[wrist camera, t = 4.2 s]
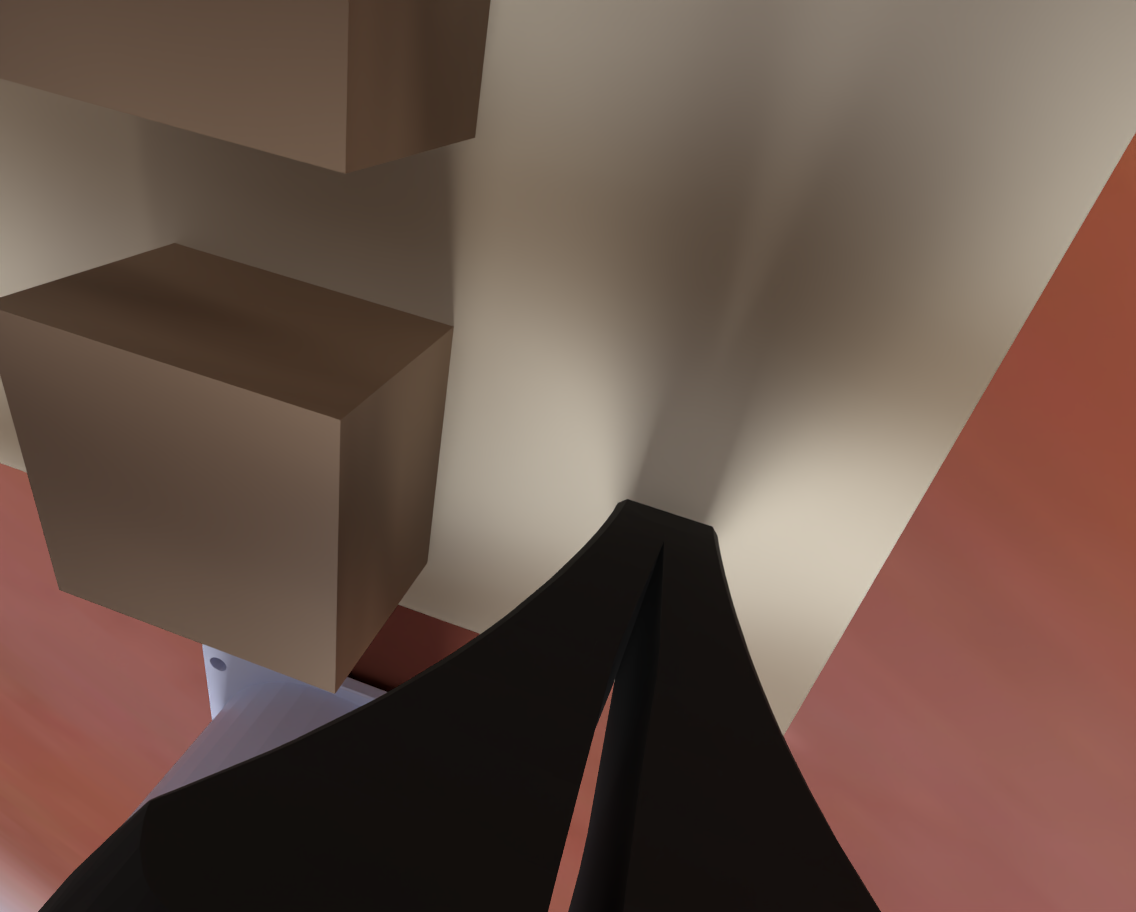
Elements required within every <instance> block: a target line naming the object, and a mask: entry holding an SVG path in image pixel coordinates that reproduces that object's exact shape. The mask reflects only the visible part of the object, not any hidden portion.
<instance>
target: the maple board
mask: <svg viewBox="0 0 1136 912" xmlns="http://www.w3.org/2000/svg"><path fill="white" fill-rule="evenodd" d="M1135 132H1136V0H491V1H490V10H489V19H488V28H487V37H486V46H485V54H484V63H483V72H482V81H481V90H480V99H479V108H478V117H477V126H476V135H475V138H472V139H469V140H465V141H461V142H458V143H454V144H451V145H447V146H443V147H440V148H436V149H433V150H429V151H425V152H422V153H418V154H415V155H411V156H407V157H404V158H400V159H397V160H393V161H389V162H386V163H382V164H379V165H375V166H371V167H368V168H364V169H361V170H357V171H353V172H350V173H346V174H345V173H341V172H337V171H334V170H330V169H326V168H323V167H319V166H316V165H312V164H308V163H305V162H301V161H297V160H294V159H290V158H287V157H283V156H279V155H276V154H272V153H268V152H265V151H261V150H258V149H254V148H250V147H247V146H243V145H239V144H236V143H232V142H229V141H225V140H221V139H218V138H214V137H210V136H207V135H203V134H200V133H196V132H192V131H189V130H185V129H181V128H178V127H174V126H171V125H167V124H163V123H160V122H156V121H152V120H149V119H145V118H142V117H138V116H134V115H131V114H127V113H123V112H120V111H116V110H113V109H109V108H105V107H102V106H98V105H94V104H91V103H87V102H83V101H80V100H76V99H73V98H69V97H65V96H62V95H58V94H54V93H51V92H47V91H44V90H40V89H36V88H33V87H29V86H25V85H22V84H18V83H15V82H11V81H7V80H4V79H0V297H3V296H6V295H10V294H13V293H16V292H19V291H22V290H26V289H29V288H32V287H35V286H38V285H42V284H45V283H48V282H51V281H54V280H58V279H61V278H64V277H67V276H70V275H74V274H77V273H80V272H83V271H86V270H90V269H93V268H96V267H99V266H102V265H105V264H109V263H112V262H115V261H118V260H121V259H125V258H128V257H131V256H134V255H137V254H141V253H144V252H147V251H150V250H153V249H157V248H160V247H163V246H166V245H169V244H173V243H176V244H180V245H183V246H186V247H190V248H193V249H196V250H200V251H203V252H206V253H210V254H213V255H216V256H220V257H223V258H226V259H230V260H233V261H236V262H240V263H243V264H246V265H250V266H253V267H256V268H260V269H263V270H266V271H270V272H273V273H276V274H280V275H283V276H287V277H290V278H293V279H297V280H300V281H303V282H307V283H310V284H313V285H317V286H320V287H323V288H327V289H330V290H333V291H337V292H340V293H343V294H347V295H350V296H353V297H357V298H360V299H363V300H367V301H370V302H373V303H377V304H380V305H383V306H387V307H390V308H393V309H397V310H400V311H403V312H407V313H410V314H414V315H417V316H420V317H424V318H427V319H430V320H434V321H437V322H440V323H444V324H447V325H450V326H454V330H453V339H452V348H451V357H450V366H449V375H448V384H447V393H446V401H445V410H444V419H443V428H442V437H441V446H440V455H439V464H438V473H437V482H436V490H435V499H434V508H433V517H432V526H431V535H430V544H429V553H428V562H427V564H426V566H425V567H424V568H423V570H422V571H421V573H420V574H419V575H418V577H417V578H416V580H415V581H414V583H413V584H412V585H411V587H410V588H409V590H408V591H407V593H406V594H405V595H404V597H403V598H402V600H401V601H400V602H399V604H398V605H401V606H404V607H406V608H409V609H412V610H415V611H418V612H420V613H423V614H426V615H429V616H432V617H434V618H437V619H440V620H443V621H446V622H448V623H451V624H454V625H457V626H460V627H463V628H465V629H468V630H471V631H474V632H477V633H479V634H481V633H483V632H484V631H486V630H487V629H488V628H490V627H491V626H492V625H494V624H495V623H496V622H498V621H499V620H500V619H502V618H503V617H504V616H506V615H507V614H508V613H510V612H511V611H512V610H513V609H514V608H516V607H517V606H518V605H519V604H520V603H522V602H523V601H524V600H525V599H526V598H528V597H529V596H530V595H531V594H533V593H534V592H535V591H536V590H537V589H539V588H540V587H541V586H542V585H543V584H545V583H546V582H547V581H548V580H549V579H550V578H551V577H552V576H554V575H555V574H556V573H557V572H558V571H559V570H560V569H561V568H562V567H563V566H564V565H565V564H566V563H567V562H568V561H569V560H570V559H571V558H572V557H573V556H574V555H575V554H576V553H577V552H578V551H579V550H580V549H581V548H582V547H583V546H584V545H585V544H586V543H587V542H588V541H589V540H590V539H591V538H592V537H593V535H594V534H595V533H596V532H597V531H598V530H599V529H600V527H601V526H602V525H603V524H604V523H605V521H606V520H607V519H608V517H609V516H610V515H611V513H612V512H613V510H614V508H615V507H616V505H617V503H619V502H621V501H624V500H626V499H629V500H632V501H635V502H638V503H642V504H645V505H648V506H651V507H654V508H657V509H660V510H663V511H666V512H669V513H672V514H675V515H678V516H682V517H685V518H688V519H691V520H694V521H697V522H700V523H703V524H706V525H709V526H712V527H713V528H714V530H715V532H716V534H717V536H718V542H719V547H720V553H721V557H722V562H723V566H724V571H725V575H726V579H727V582H728V586H729V590H730V594H731V597H732V601H733V604H734V608H735V611H736V614H737V617H738V620H739V623H740V626H741V629H742V632H743V635H744V638H745V641H746V644H747V647H748V650H749V653H750V656H751V659H752V661H753V664H754V667H755V669H756V672H757V675H758V677H759V680H760V682H761V685H762V687H763V690H764V692H765V695H766V697H767V699H768V702H769V704H770V707H771V709H772V712H773V714H774V716H775V719H776V721H777V723H778V725H779V728H780V730H781V732H782V734H783V736H784V734H785V732H786V730H787V729H788V727H789V725H790V724H791V722H792V720H793V718H794V717H795V715H796V713H797V712H798V710H799V708H800V706H801V705H802V703H803V701H804V700H805V698H806V696H807V694H808V693H809V691H810V689H811V688H812V686H813V684H814V682H815V681H816V679H817V677H818V676H819V674H820V672H821V670H822V669H823V667H824V665H825V664H826V662H827V660H828V658H829V657H830V655H831V653H832V652H833V650H834V648H835V646H836V645H837V643H838V641H839V640H840V638H841V636H842V634H843V633H844V631H845V629H846V628H847V626H848V624H849V622H850V621H851V619H852V617H853V616H854V614H855V612H856V610H857V609H858V607H859V605H860V604H861V602H862V600H863V598H864V597H865V595H866V593H867V592H868V590H869V588H870V586H871V585H872V583H873V581H874V580H875V578H876V576H877V574H878V573H879V571H880V569H881V568H882V566H883V564H884V562H885V561H886V559H887V557H888V556H889V554H890V552H891V550H892V549H893V547H894V545H895V544H896V542H897V540H898V538H899V537H900V535H901V533H902V532H903V530H904V528H905V526H906V525H907V523H908V521H909V520H910V518H911V516H912V514H913V513H914V511H915V509H916V508H917V506H918V504H919V503H920V501H921V499H922V497H923V496H924V494H925V492H926V491H927V489H928V487H929V485H930V484H931V482H932V480H933V479H934V477H935V475H936V473H937V472H938V470H939V468H940V467H941V465H942V463H943V461H944V460H945V458H946V456H947V455H948V453H949V451H950V449H951V448H952V446H953V444H954V443H955V441H956V439H957V437H958V436H959V434H960V432H961V431H962V429H963V427H964V425H965V424H966V422H967V420H968V419H969V417H970V415H971V413H972V412H973V410H974V408H975V407H976V405H977V403H978V401H979V400H980V398H981V396H982V395H983V393H984V391H985V389H986V388H987V386H988V384H989V383H990V381H991V379H992V377H993V376H994V374H995V372H996V371H997V369H998V367H999V365H1000V364H1001V362H1002V360H1003V359H1004V357H1005V355H1006V353H1007V352H1008V350H1009V348H1010V347H1011V345H1012V343H1013V341H1014V340H1015V338H1016V336H1017V335H1018V333H1019V331H1020V329H1021V328H1022V326H1023V324H1024V323H1025V321H1026V319H1027V317H1028V316H1029V314H1030V312H1031V311H1032V309H1033V307H1034V305H1035V304H1036V302H1037V300H1038V299H1039V297H1040V295H1041V293H1042V292H1043V290H1044V288H1045V287H1046V285H1047V283H1048V281H1049V280H1050V278H1051V276H1052V275H1053V273H1054V271H1055V269H1056V268H1057V266H1058V264H1059V263H1060V261H1061V259H1062V258H1063V256H1064V254H1065V252H1066V251H1067V249H1068V247H1069V246H1070V244H1071V242H1072V240H1073V239H1074V237H1075V235H1076V234H1077V232H1078V230H1079V228H1080V227H1081V225H1082V223H1083V222H1084V220H1085V218H1086V216H1087V215H1088V213H1089V211H1090V210H1091V208H1092V206H1093V204H1094V203H1095V201H1096V199H1097V198H1098V196H1099V194H1100V192H1101V191H1102V189H1103V187H1104V186H1105V184H1106V182H1107V180H1108V179H1109V177H1110V175H1111V174H1112V172H1113V170H1114V168H1115V167H1116V165H1117V163H1118V162H1119V160H1120V158H1121V156H1122V155H1123V153H1124V151H1125V150H1126V148H1127V146H1128V144H1129V143H1130V141H1131V139H1132V138H1133V136H1134V134H1135ZM0 463H2V464H5V465H7V466H10V467H13V468H16V469H19V470H21V471H24V472H27V471H26V467H25V463H24V460H23V456H22V452H21V449H20V445H19V442H18V438H17V434H16V431H15V427H14V423H13V420H12V416H11V412H10V409H9V405H8V402H7V398H6V394H5V391H4V387H3V383H2V380H1V376H0ZM614 682H615V681H614Z"/></svg>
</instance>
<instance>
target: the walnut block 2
mask: <svg viewBox="0 0 1136 912" xmlns="http://www.w3.org/2000/svg"><path fill="white" fill-rule="evenodd" d="M453 330H454V326H450V325H447V324H444V323H440V322H437V321H434V320H430V319H427V318H424V317H420V316H417V315H414V314H410V313H407V312H403V311H400V310H397V309H393V308H390V307H387V306H383V305H380V304H377V303H373V302H370V301H367V300H363V299H360V298H357V297H353V296H350V295H347V294H343V293H340V292H337V291H333V290H330V289H327V288H323V287H320V286H317V285H313V284H310V283H307V282H303V281H300V280H297V279H293V278H290V277H287V276H283V275H280V274H276V273H273V272H270V271H266V270H263V269H260V268H256V267H253V266H250V265H246V264H243V263H240V262H236V261H233V260H230V259H226V258H223V257H220V256H216V255H213V254H210V253H206V252H203V251H200V250H196V249H193V248H190V247H186V246H183V245H180V244H176V243H173V244H169V245H166V246H163V247H160V248H157V249H153V250H150V251H147V252H144V253H141V254H137V255H134V256H131V257H128V258H125V259H121V260H118V261H115V262H112V263H109V264H105V265H102V266H99V267H96V268H93V269H90V270H86V271H83V272H80V273H77V274H74V275H70V276H67V277H64V278H61V279H58V280H54V281H51V282H48V283H45V284H42V285H38V286H35V287H32V288H29V289H26V290H22V291H19V292H16V293H13V294H10V295H6V296H3V297H0V376H1V380H2V383H3V387H4V391H5V394H6V398H7V402H8V405H9V409H10V412H11V416H12V420H13V423H14V427H15V431H16V434H17V438H18V442H19V445H20V449H21V452H22V456H23V460H24V463H25V467H26V471H27V474H28V478H29V482H30V485H31V489H32V492H33V496H34V500H35V503H36V507H37V511H38V514H39V518H40V522H41V525H42V529H43V532H44V536H45V540H46V543H47V547H48V551H49V554H50V558H51V562H52V565H53V569H54V572H55V576H56V580H57V583H58V587H59V590H61V591H64V592H66V593H69V594H72V595H74V596H77V597H80V598H82V599H85V600H88V601H90V602H93V603H95V604H98V605H101V606H103V607H106V608H109V609H111V610H114V611H117V612H119V613H122V614H125V615H127V616H130V617H133V618H135V619H138V620H140V621H143V622H146V623H148V624H151V625H154V626H156V627H159V628H162V629H164V630H167V631H170V632H172V633H175V634H178V635H180V636H183V637H185V638H188V639H191V640H193V641H196V642H199V643H201V644H204V645H207V646H209V647H212V648H215V649H217V650H220V651H223V652H225V653H228V654H230V655H233V656H236V657H238V658H241V659H244V660H246V661H249V662H252V663H254V664H257V665H260V666H262V667H265V668H268V669H270V670H273V671H275V672H278V673H281V674H283V675H286V676H289V677H291V678H294V679H297V680H299V681H302V682H305V683H307V684H310V685H313V686H315V687H318V688H320V689H323V690H326V691H328V692H331V693H334V694H335V693H336V692H337V691H338V689H339V688H340V686H341V685H342V683H343V682H344V681H345V679H346V678H347V676H348V675H349V673H350V672H351V671H352V669H353V668H354V666H355V665H356V664H357V662H358V661H359V659H360V658H361V656H362V655H363V654H364V652H365V651H366V649H367V648H368V646H369V645H370V644H371V642H372V641H373V639H374V638H375V637H376V635H377V634H378V632H379V631H380V629H381V628H382V627H383V625H384V624H385V622H386V621H387V620H388V618H389V617H390V615H391V614H392V612H393V611H394V610H395V608H396V607H397V605H398V604H399V602H400V601H401V600H402V598H403V597H404V595H405V594H406V593H407V591H408V590H409V588H410V587H411V585H412V584H413V583H414V581H415V580H416V578H417V577H418V575H419V574H420V573H421V571H422V570H423V568H424V567H425V566H426V564H427V562H428V553H429V544H430V535H431V526H432V517H433V508H434V499H435V490H436V482H437V473H438V464H439V455H440V446H441V437H442V428H443V419H444V410H445V401H446V393H447V384H448V375H449V366H450V357H451V348H452V339H453Z"/></svg>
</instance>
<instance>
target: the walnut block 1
mask: <svg viewBox="0 0 1136 912" xmlns="http://www.w3.org/2000/svg"><path fill="white" fill-rule="evenodd" d="M490 1H491V0H0V79H4V80H7V81H11V82H15V83H18V84H22V85H25V86H29V87H33V88H36V89H40V90H44V91H47V92H51V93H54V94H58V95H62V96H65V97H69V98H73V99H76V100H80V101H83V102H87V103H91V104H94V105H98V106H102V107H105V108H109V109H113V110H116V111H120V112H123V113H127V114H131V115H134V116H138V117H142V118H145V119H149V120H152V121H156V122H160V123H163V124H167V125H171V126H174V127H178V128H181V129H185V130H189V131H192V132H196V133H200V134H203V135H207V136H210V137H214V138H218V139H221V140H225V141H229V142H232V143H236V144H239V145H243V146H247V147H250V148H254V149H258V150H261V151H265V152H268V153H272V154H276V155H279V156H283V157H287V158H290V159H294V160H297V161H301V162H305V163H308V164H312V165H316V166H319V167H323V168H326V169H330V170H334V171H337V172H341V173H345V174H346V173H350V172H353V171H357V170H361V169H364V168H368V167H371V166H375V165H379V164H382V163H386V162H389V161H393V160H397V159H400V158H404V157H407V156H411V155H415V154H418V153H422V152H425V151H429V150H433V149H436V148H440V147H443V146H447V145H451V144H454V143H458V142H461V141H465V140H469V139H472V138H475V135H476V126H477V117H478V108H479V99H480V90H481V81H482V72H483V63H484V54H485V46H486V37H487V28H488V19H489V10H490Z"/></svg>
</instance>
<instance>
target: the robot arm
mask: <svg viewBox="0 0 1136 912" xmlns="http://www.w3.org/2000/svg"><path fill="white" fill-rule="evenodd" d="M202 646H203V654H204V661H205V669H206V677H207V684H208V692H209V700H210V707H211V715H212V721H211V722H210V724H209V725H208V726H207V727H206V728H205V729H204V731H203V732H202V733H201V734H200V735H199V736H198V738H197V739H196V740H195V741H194V742H193V743H192V745H191V746H190V747H189V748H188V749H187V750H186V752H185V753H184V754H183V755H182V756H181V757H180V759H179V760H178V761H177V762H176V763H175V764H174V766H173V767H172V768H171V769H170V770H169V771H168V772H167V774H166V775H165V776H164V777H163V778H162V779H161V781H160V782H159V783H158V784H157V785H156V786H155V788H154V789H153V790H152V791H151V792H150V793H149V795H148V796H147V797H146V798H145V799H144V800H143V802H142V803H141V804H140V805H139V806H138V807H137V809H136V810H135V811H134V812H133V813H132V814H131V816H130V817H129V818H128V819H127V820H126V821H125V823H124V824H123V825H122V826H121V827H120V828H118V829H117V830H116V831H115V832H114V833H113V834H112V835H111V836H110V837H109V838H108V839H107V840H106V841H105V842H104V843H103V844H102V845H101V846H100V847H99V848H98V849H97V850H95V851H94V852H93V853H92V854H91V855H90V856H89V857H88V858H87V859H86V860H85V861H84V862H83V863H82V864H81V865H80V866H79V867H78V868H77V869H76V870H75V871H74V872H73V873H72V874H71V875H70V876H69V877H68V878H67V879H66V880H65V881H64V883H63V884H62V885H61V886H60V887H59V888H58V889H57V891H56V892H55V893H54V894H53V895H52V896H51V897H50V899H49V900H48V901H47V902H46V903H45V904H44V905H43V907H42V908H41V909H40V910H39V911H38V912H548V909H549V905H550V901H551V897H552V893H553V889H554V885H555V881H556V877H557V873H558V869H559V865H560V861H561V858H562V854H563V850H564V846H565V842H566V838H567V834H568V830H569V827H570V823H571V819H572V815H573V811H574V807H575V803H576V800H577V796H578V792H579V788H580V784H581V780H582V777H583V773H584V769H585V765H586V761H587V758H588V754H589V750H590V746H591V743H592V739H593V735H594V731H595V728H596V726H597V723H598V721H599V718H600V716H601V713H602V711H603V708H604V706H605V703H606V701H607V698H608V696H609V693H610V691H611V688H612V686H613V683H614V688H613V693H612V699H611V704H610V710H609V715H608V721H607V727H606V732H605V738H604V743H603V749H602V755H601V760H600V766H599V772H598V777H597V783H596V789H595V794H594V800H593V806H592V811H591V817H590V823H589V828H588V834H587V838H586V843H585V848H584V852H583V857H582V861H581V866H580V870H579V874H578V878H577V881H576V885H575V889H574V893H573V896H572V900H571V904H570V907H569V911H568V912H881V911H880V910H879V908H878V906H877V905H876V903H875V901H874V900H873V898H872V896H871V895H870V893H869V892H868V890H867V888H866V887H865V885H864V883H863V882H862V880H861V879H860V877H859V875H858V874H857V872H856V870H855V869H854V867H853V866H852V864H851V862H850V861H849V859H848V857H847V856H846V854H845V853H844V851H843V849H842V848H841V846H840V844H839V843H838V841H837V839H836V837H835V836H834V834H833V832H832V830H831V828H830V826H829V825H828V823H827V821H826V819H825V817H824V815H823V814H822V812H821V810H820V808H819V806H818V804H817V803H816V801H815V799H814V797H813V795H812V793H811V791H810V790H809V788H808V786H807V784H806V782H805V780H804V778H803V776H802V774H801V772H800V770H799V768H798V766H797V764H796V762H795V760H794V758H793V756H792V754H791V751H790V749H789V747H788V745H787V743H786V741H785V739H784V736H783V734H782V732H781V730H780V728H779V725H778V723H777V721H776V719H775V716H774V714H773V712H772V709H771V707H770V704H769V702H768V699H767V697H766V695H765V692H764V690H763V687H762V685H761V682H760V680H759V677H758V675H757V672H756V669H755V667H754V664H753V661H752V659H751V656H750V653H749V650H748V647H747V644H746V641H745V638H744V635H743V632H742V629H741V626H740V623H739V620H738V617H737V614H736V611H735V608H734V604H733V601H732V597H731V594H730V590H729V586H728V582H727V579H726V575H725V571H724V566H723V562H722V557H721V553H720V547H719V542H718V536H717V534H716V532H715V530H714V528H713V527H712V526H709V525H706V524H703V523H700V522H697V521H694V520H691V519H688V518H685V517H682V516H678V515H675V514H672V513H669V512H666V511H663V510H660V509H657V508H654V507H651V506H648V505H645V504H642V503H638V502H635V501H632V500H629V499H626V500H624V501H621V502H619V503H617V505H616V507H615V508H614V510H613V512H612V513H611V515H610V516H609V517H608V519H607V520H606V521H605V523H604V524H603V525H602V526H601V527H600V529H599V530H598V531H597V532H596V533H595V534H594V535H593V537H592V538H591V539H590V540H589V541H588V542H587V543H586V544H585V545H584V546H583V547H582V548H581V549H580V550H579V551H578V552H577V553H576V554H575V555H574V556H573V557H572V558H571V559H570V560H569V561H568V562H567V563H566V564H565V565H564V566H563V567H562V568H561V569H560V570H559V571H558V572H557V573H556V574H555V575H554V576H552V577H551V578H550V579H549V580H548V581H547V582H546V583H545V584H543V585H542V586H541V587H540V588H539V589H537V590H536V591H535V592H534V593H533V594H531V595H530V596H529V597H528V598H526V599H525V600H524V601H523V602H522V603H520V604H519V605H518V606H517V607H516V608H514V609H513V610H512V611H511V612H510V613H508V614H507V615H506V616H504V617H503V618H502V619H500V620H499V621H498V622H496V623H495V624H494V625H492V626H491V627H490V628H488V629H487V630H486V631H484V632H483V633H481V634H480V635H479V636H477V637H476V638H474V639H473V640H471V641H470V642H468V643H467V644H465V645H464V646H462V647H461V648H459V649H458V650H457V651H455V652H454V653H452V654H450V655H449V656H447V657H446V658H444V659H443V660H441V661H439V662H438V663H436V664H434V665H433V666H431V667H429V668H428V669H426V670H424V671H423V672H421V673H420V674H418V675H416V676H415V677H413V678H411V679H410V680H408V681H406V682H405V683H403V684H401V685H399V686H398V687H396V688H394V689H392V690H391V691H389V692H386V691H384V690H381V689H378V688H376V687H373V686H370V685H368V684H365V683H362V682H360V681H357V680H354V679H352V678H349V677H347V678H346V679H345V681H344V682H343V683H342V685H341V686H340V688H339V689H338V691H337V692H336V693H335V694H334V693H331V692H328V691H326V690H323V689H320V688H318V687H315V686H313V685H310V684H307V683H305V682H302V681H299V680H297V679H294V678H291V677H289V676H286V675H283V674H281V673H278V672H275V671H273V670H270V669H268V668H265V667H262V666H260V665H257V664H254V663H252V662H249V661H246V660H244V659H241V658H238V657H236V656H233V655H230V654H228V653H225V652H223V651H220V650H217V649H215V648H212V647H209V646H207V645H204V644H202ZM614 681H615V682H614Z"/></svg>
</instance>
